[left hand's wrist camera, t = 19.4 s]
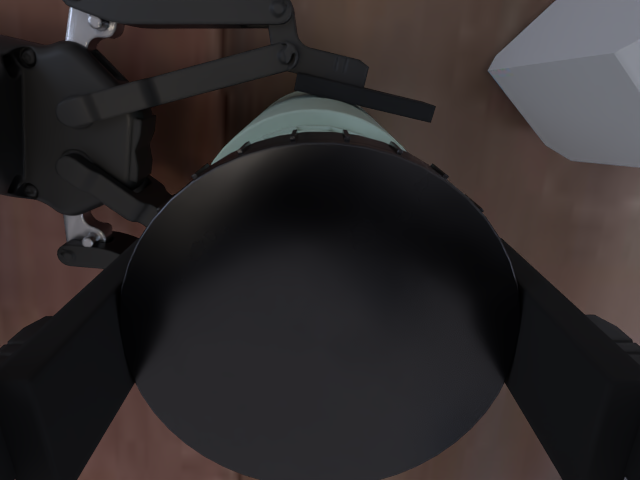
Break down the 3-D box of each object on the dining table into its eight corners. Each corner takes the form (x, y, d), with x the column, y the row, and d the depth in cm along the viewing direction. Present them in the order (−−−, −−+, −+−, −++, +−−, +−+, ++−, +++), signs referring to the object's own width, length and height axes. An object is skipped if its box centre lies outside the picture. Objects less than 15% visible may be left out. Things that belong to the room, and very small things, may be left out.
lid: (69, 294, 12) (30, 328, 10) (340, 35, 10) (343, 28, 8) (306, 487, 14) (304, 539, 13) (563, 319, 12) (600, 357, 11)
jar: (395, 205, 30) (461, 323, 16) (270, 238, 31) (234, 376, 17) (365, 71, 27) (417, 77, 13) (227, 111, 28) (141, 156, 14)
